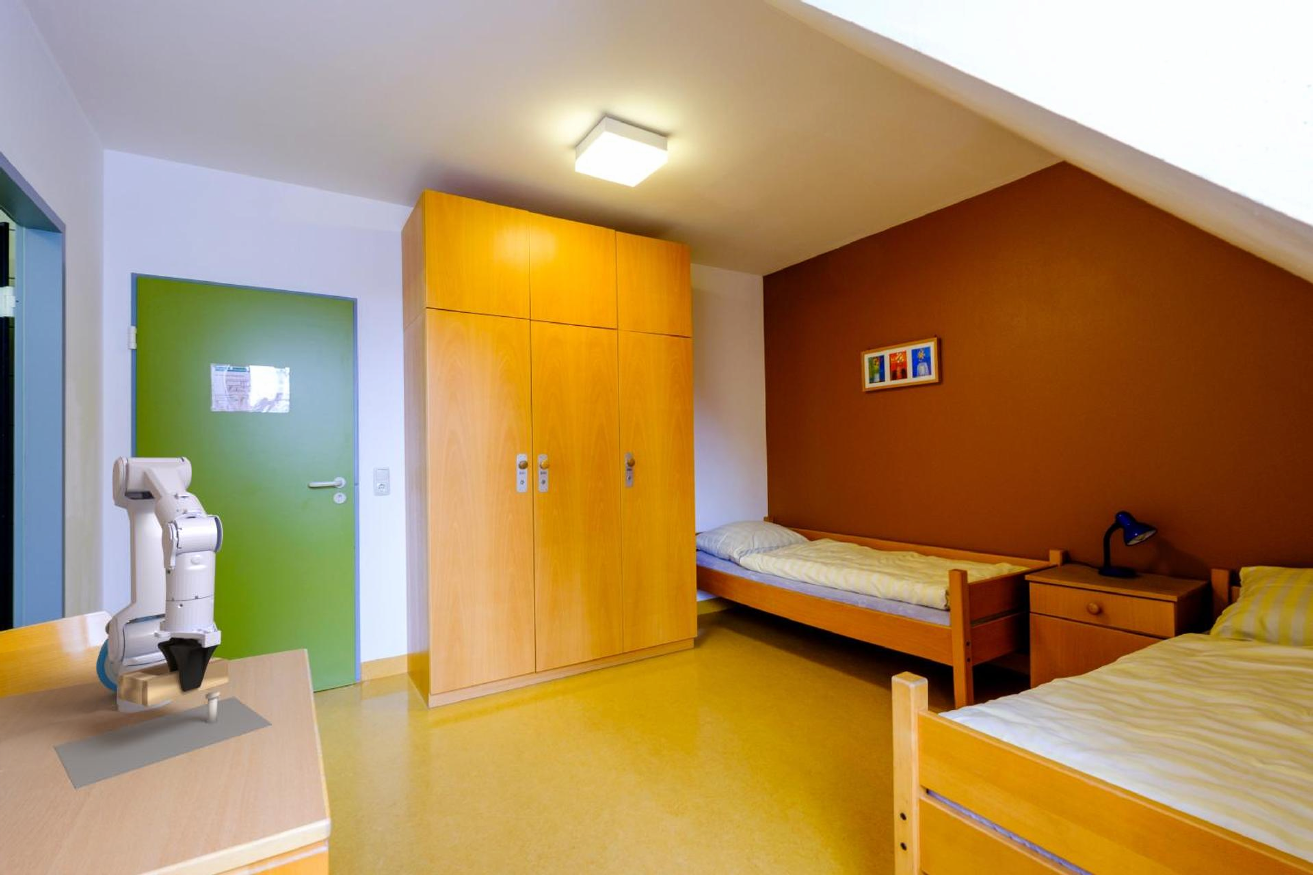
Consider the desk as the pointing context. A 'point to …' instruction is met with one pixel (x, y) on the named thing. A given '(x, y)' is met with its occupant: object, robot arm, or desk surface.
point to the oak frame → (165, 682)
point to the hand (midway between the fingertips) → (187, 687)
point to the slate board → (156, 740)
